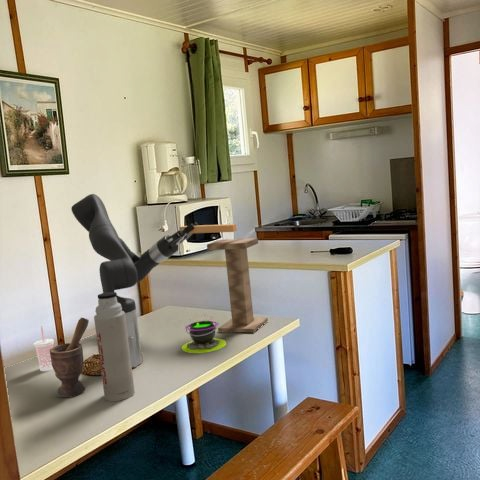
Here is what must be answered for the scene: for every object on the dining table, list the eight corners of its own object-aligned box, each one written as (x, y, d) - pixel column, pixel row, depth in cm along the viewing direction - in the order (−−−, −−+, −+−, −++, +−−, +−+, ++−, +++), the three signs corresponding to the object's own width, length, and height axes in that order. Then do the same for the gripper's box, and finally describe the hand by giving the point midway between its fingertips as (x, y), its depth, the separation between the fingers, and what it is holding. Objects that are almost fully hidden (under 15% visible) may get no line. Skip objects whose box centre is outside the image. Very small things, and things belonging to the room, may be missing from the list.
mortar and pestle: (77, 381, 158) (68, 315, 156) (101, 383, 155) (92, 316, 153) (49, 397, 148) (39, 327, 146) (74, 400, 144) (64, 328, 142)
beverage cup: (61, 366, 174) (55, 324, 172) (45, 373, 169) (39, 329, 167) (49, 364, 177) (43, 323, 175) (33, 370, 172) (27, 328, 170)
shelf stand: (214, 331, 195) (205, 245, 192) (230, 321, 208) (222, 239, 204) (254, 333, 189) (245, 243, 186) (267, 321, 202) (260, 237, 198)
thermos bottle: (105, 403, 140) (91, 298, 137) (103, 392, 148) (90, 293, 144) (136, 397, 142) (123, 293, 139) (133, 386, 150) (120, 288, 147)
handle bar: (179, 233, 201) (179, 227, 201) (183, 232, 204) (183, 226, 204) (233, 231, 193) (232, 225, 192) (236, 230, 195) (236, 223, 195)
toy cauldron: (174, 353, 176) (170, 320, 175) (191, 339, 190) (188, 308, 189) (217, 353, 171) (213, 320, 170) (232, 338, 186) (228, 307, 184)
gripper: (148, 243, 201) (180, 218, 194) (167, 238, 214) (198, 214, 207) (158, 260, 200) (191, 236, 193) (177, 254, 213) (209, 231, 206)
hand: (195, 225), depth 200 cm, fingers closed on handle bar, 3 cm apart
